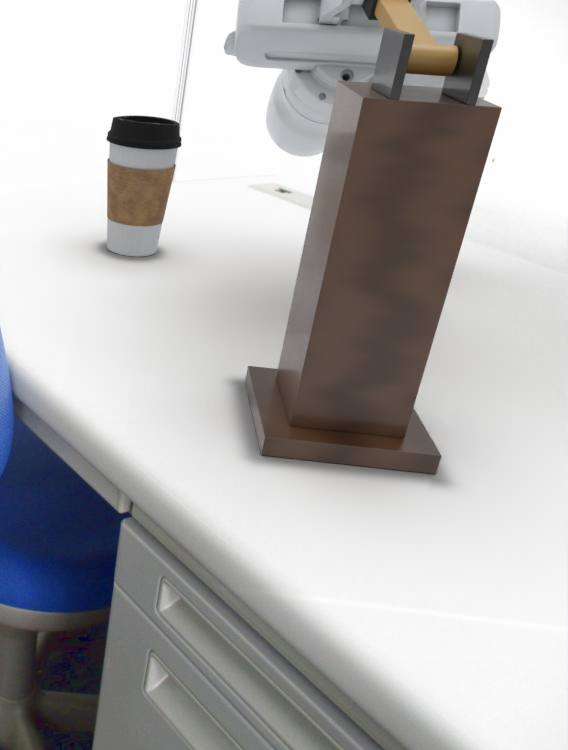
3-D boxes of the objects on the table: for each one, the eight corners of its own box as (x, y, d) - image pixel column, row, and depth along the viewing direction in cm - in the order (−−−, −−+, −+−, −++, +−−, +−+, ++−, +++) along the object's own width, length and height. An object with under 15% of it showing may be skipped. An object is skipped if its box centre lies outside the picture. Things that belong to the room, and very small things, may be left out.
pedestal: (393, 397, 71) (496, 30, 58) (436, 474, 60) (573, 47, 48) (244, 381, 72) (313, 18, 59) (261, 455, 61) (349, 32, 49)
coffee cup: (86, 252, 101) (98, 118, 94) (108, 234, 108) (120, 107, 101) (157, 264, 98) (175, 127, 91) (174, 245, 105) (192, 116, 98)
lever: (396, -2, 67) (404, -29, 66) (450, 82, 54) (461, 49, 53) (349, -5, 68) (356, -32, 66) (391, 78, 54) (400, 45, 53)
